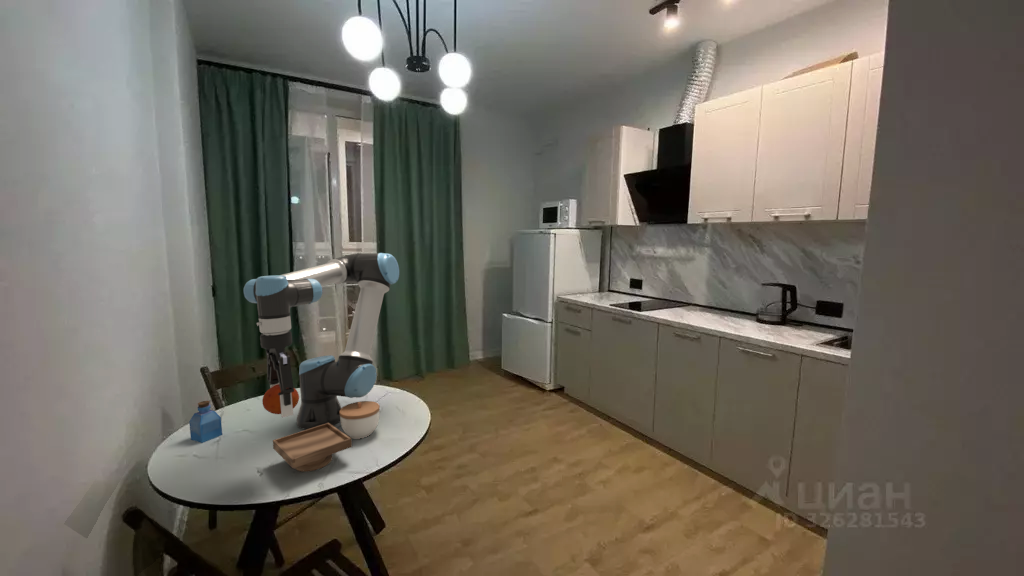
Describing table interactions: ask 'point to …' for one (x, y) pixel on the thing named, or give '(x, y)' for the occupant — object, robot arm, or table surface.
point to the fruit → (277, 399)
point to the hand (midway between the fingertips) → (282, 410)
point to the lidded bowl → (359, 418)
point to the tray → (312, 447)
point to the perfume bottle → (205, 423)
